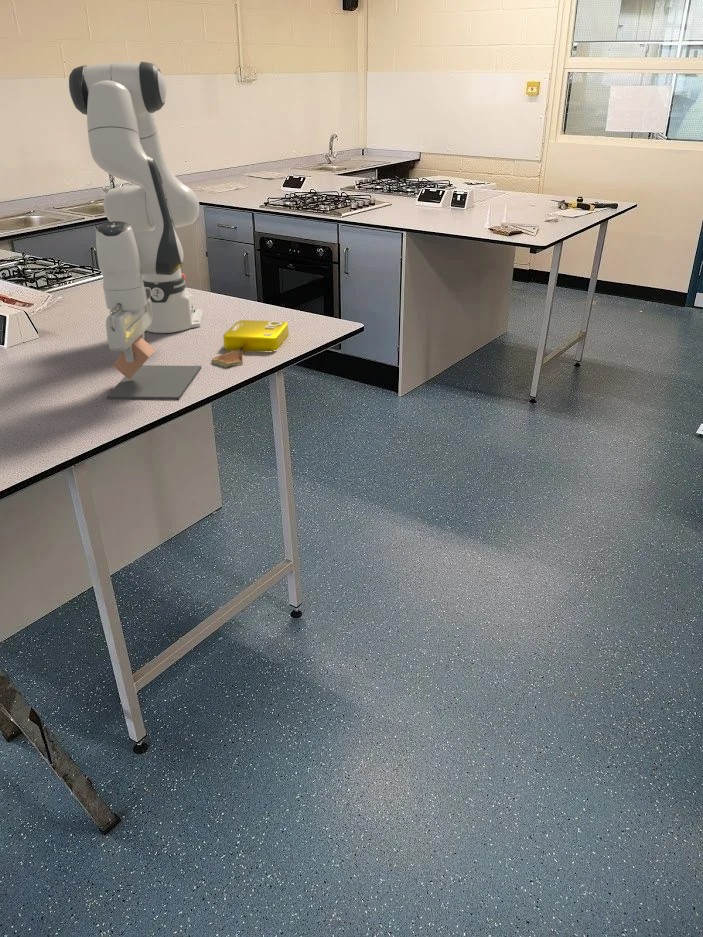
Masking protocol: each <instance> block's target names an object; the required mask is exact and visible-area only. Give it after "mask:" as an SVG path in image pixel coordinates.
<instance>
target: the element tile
mask: <svg viewBox="0 0 703 937" xmlns="http://www.w3.org/2000/svg"><path fill="white" fill-rule="evenodd" d="M288 336H289V337H290V335H289V323H288V322H287V321H279V320H277V321H275V320H252V319H251V320H249V319H240V320H237V321H236V322H235V323H234V324H233V325H232V326H231V327H230V328H229V329H228V330H226V332H225V333H224V334H223V336H222V337H223V338H222V339H223V346H224V350H226V351H229V352H231V351H235V350H237V349H240V348H242V352H248V351H274V350H277V349H278V348H279V347H280V346H281V345H282V344H283V342H284V341H285V340H286V339H287V337H288ZM289 337H288V338H289ZM287 340H288V339H287ZM287 340H286V341H287ZM286 341H285V342H286ZM285 342H284V343H285ZM283 345H284V344H283ZM283 345H282V346H283ZM282 346H281V347H282ZM281 347H280V348H281Z"/></svg>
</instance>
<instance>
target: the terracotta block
mask: <svg viewBox="0 0 703 937" xmlns="http://www.w3.org/2000/svg"><path fill="white" fill-rule="evenodd" d="M131 349H132V351H133V353H135V360H134V361H133V362H127V361H126V358H125V355H124V353H123V352H122V353H121V354H120V355H119V356H118V357H117V359H116V360H115V361H113V364H112V365H111V366H112V367H113V368H114V369H115V370H117V371H118V372H119V373H120V374H121V375H123V376H124V377H127V378H128V379H130V378H131V377H132V376H133V375H134V374H135V373H136V372H137V370H138V369H139V368H140V367H141V366H142V365H144V364H145V362H146V361H147V360H148V359H149V358H150V357H151V355H152V354H153V353H154V352H155V351H156V349H155V348H154V346H152V345H151V344H149V343H148V341H146V340H145V338H144V339H143V338H141V337H139V338H138V339H137V340H135V341H134V342H133V343H132V348H131Z"/></svg>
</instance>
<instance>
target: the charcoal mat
mask: <svg viewBox="0 0 703 937" xmlns="http://www.w3.org/2000/svg"><path fill="white" fill-rule="evenodd" d="M201 369H202V365H164V364H163V365H153V364H151V365H148V364H147V365H144V364H143V365H142V366H141V367H140V368H139V369H138V370H137V372H136V373H135V374H134V375H133V376H132V377H131V378H130V379H128V378H127V377H125V376H124V377H123V378H122V379H121V380H120V381H119V382H118V383H117V384H116V385H115V387H113V388H112V390H110V392H109V393H108V394H107V395H106V400H117V399H118V400H180V399H181V398H182V396H183V395H184V394H185V392H186V390H188V388H189V386H190V385H191V383H193V381H194V379H195V378H196V377H197V375H198V374H199V372H200V371H201Z"/></svg>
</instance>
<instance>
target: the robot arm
mask: <svg viewBox="0 0 703 937" xmlns="http://www.w3.org/2000/svg"><path fill="white" fill-rule="evenodd" d="M68 92H69V95H70V99H71V101H72V102H73V106H74V107H75V109H76V110H78V111H79V112H80V113H81V114H82V115H86V123H87V124H86V126H87V127H86V128H87V135H88V136H87V137H88V144H89V149H90V154H91V157H92V159H93V161H94V163H96V165H97V166H98V167H99V168H100V169H101V170H103V171H104V172H105V173H107V174H109V175H111V176H112V177H115V178H116V179H120V180H123V181H126V182H129V183H131V184H134V185H122V186H119V187H118V186H117V187H114V188H112V189H111V188H110V189H109V190H108V191H107V192H106V193H105V195H104V199H103V203H102V204H103V205H102V206H103V212H104V215H105V217H106V218H107V220H108V221H107V222H104V223H101V224H99V225H98V226H97V227H96V229H95V243H96V245H95V246H96V248H95V252H96V259H97V264H98V268H99V270H100V272H101V275H102V289H103V294H104V300H105V305H106V308H107V309H108V310H109V315H108V316H107V317H106V320H105V326H106V327H105V329H106V336H107V337H106V338H107V343H108V348H109V349H110V351H113V352H122V353H124V355H125V358H126V361H127V362H133V361H134V360H135V353H133V351H132V349H131V348H132V343H133V342H134V341H135V340H137V339H138V338H139V337H141V338H143V339H144V340H145V332H146V331H147V332H150V333H156V334H167V333H168V334H169V333H176V332H182V331H185V330H188V329H193V328H199V327H201V326H202V321H203V315H204V310H203V309H200V308H196V306H195V299H194V295H193V294H191V292H189V291H188V290H187V286H186V275H185V273H182V270H181V267H182V265H183V264H184V262H183V261H184V249H183V245H182V243H181V241H180V238H179V236H178V234H177V230H176V228H177V229H178V228H181V227H186V226H189V225H193V224H194V223H195V222H196V221H197V219H198V217H199V215H200V202H199V199H198V196H197V194H196V193H195V192H194V190H193V189H192V188H191V187H189V186H187V184H184V183H183V182H182V181H181V180H179V178H178V177H177V176H176V175H175V174H174V173H173V172H172V171H171V169H170V167H169V165H168V164H167V162H166V159H165V156H164V152H163V149H162V148H163V147H162V145H161V141H160V140H161V139H160V136H159V131H158V128H157V122H156V118H155V115H154V113H156V112H157V111H160V110H161V109H162V108H163V107H164V106H165V104H166V103H165V102H166V98H167V84H166V81H165V78H164V76H163V75H162V72H161V69H160V68H159V67H158V66H157V65H156V64H155V63H152V62H147V61H140V62H133V61H132V62H130V61H113V62H108V63H106V62H105V63H99V64H94V65H86V64H84V65H80V66H77V67H74V68H73V69H72V71H71V72H70V73H69V76H68Z"/></svg>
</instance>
